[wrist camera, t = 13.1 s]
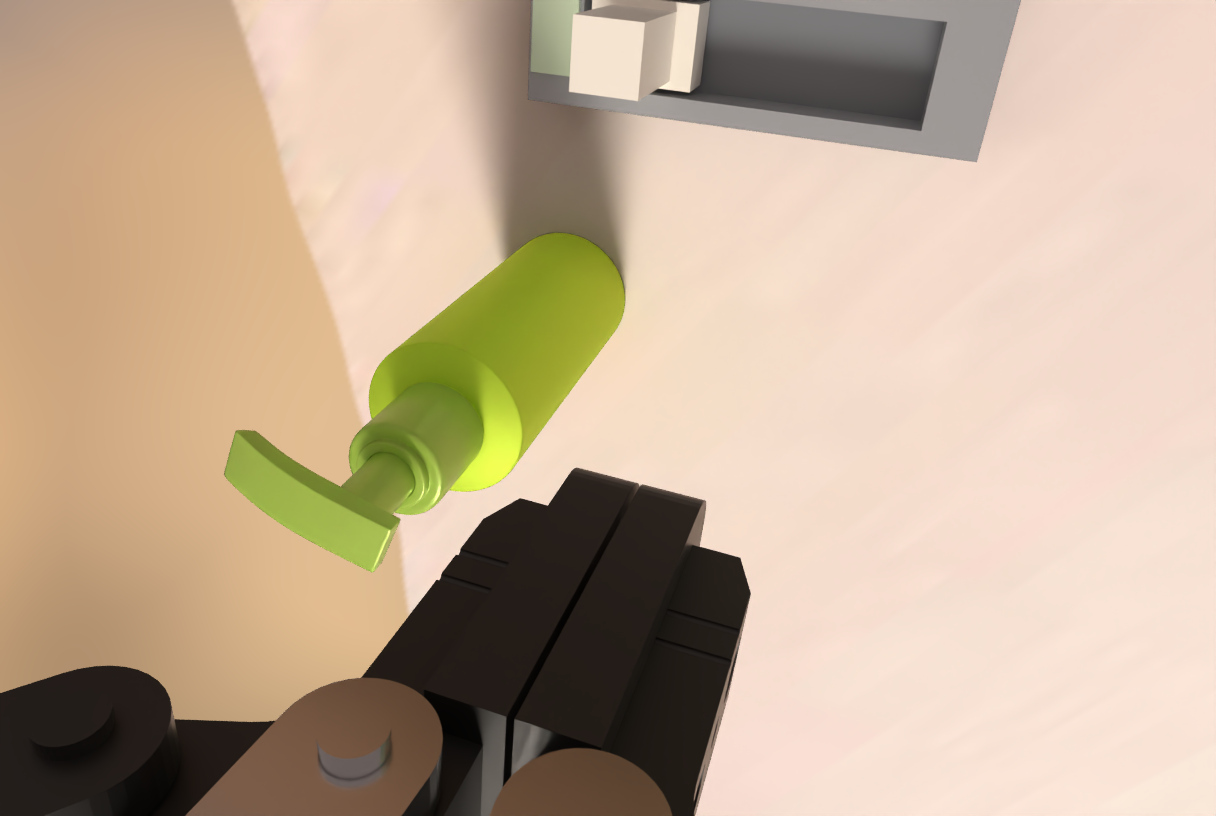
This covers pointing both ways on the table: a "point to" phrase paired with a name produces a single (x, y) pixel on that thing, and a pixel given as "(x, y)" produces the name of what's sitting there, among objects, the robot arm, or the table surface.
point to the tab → (638, 47)
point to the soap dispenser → (450, 400)
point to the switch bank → (819, 70)
